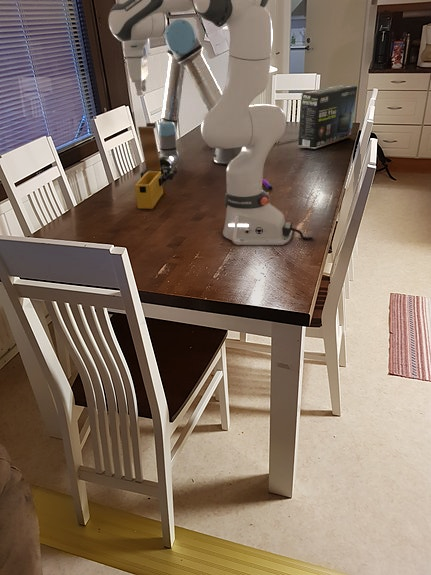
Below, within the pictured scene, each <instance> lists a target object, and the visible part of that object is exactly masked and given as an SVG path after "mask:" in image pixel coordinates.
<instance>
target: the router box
mask: <svg viewBox="0 0 431 575" xmlns="http://www.w3.org/2000/svg"><path fill="white" fill-rule="evenodd" d="M357 93H358V86H356V85H350V84H339V85H338V84H337V85H334V86H328V87H324V88H318V89H314V90H309V91H304V92H301V93H300V109H299V110H300V111H299V124H298V137H297V138H298V139H297V146H298V145H302V146H307V147H317V146H320V145H323V144H325V143H328V142H331V141H333V140H336V139H338V138H341V137H344V136H347V135H351V136H352V133H353V132H352V131H353V125H354V115H355V109H356V99H357ZM311 151H313V150H312V149H311Z"/></svg>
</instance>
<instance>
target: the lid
mask: <svg viewBox="0 0 431 575" xmlns="http://www.w3.org/2000/svg"><path fill="white" fill-rule="evenodd" d="M156 128H157V124H156V122H146V125H145V126H138V128H137V129H138V130H137V131H138V135H139V139H140V140H139V141H140V145H141V149H142V154H143V158H144V164H145V167H146V169H147V171H161V166H160V160H159V157H160V156H159V155H160V154H159V150H158V144H157V139H156V133H155V129H156Z"/></svg>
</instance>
